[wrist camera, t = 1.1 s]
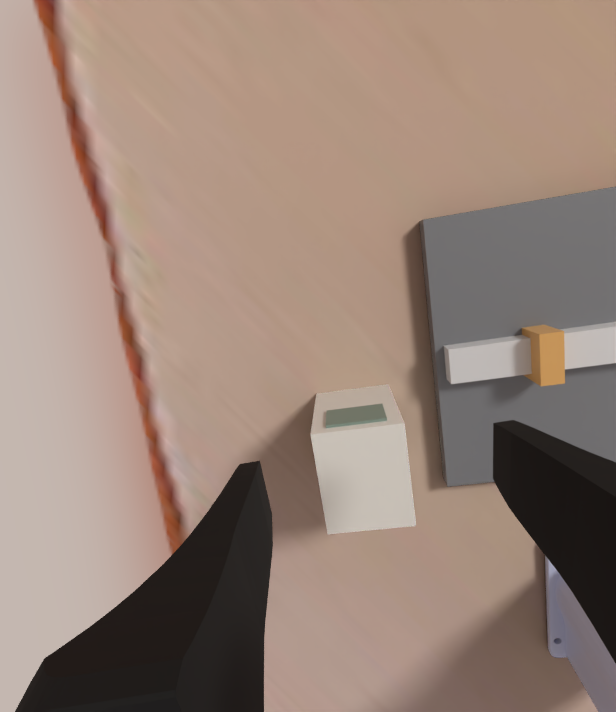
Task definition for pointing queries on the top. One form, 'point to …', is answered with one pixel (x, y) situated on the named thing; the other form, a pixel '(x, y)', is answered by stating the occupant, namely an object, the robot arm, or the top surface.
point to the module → (362, 460)
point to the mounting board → (523, 325)
